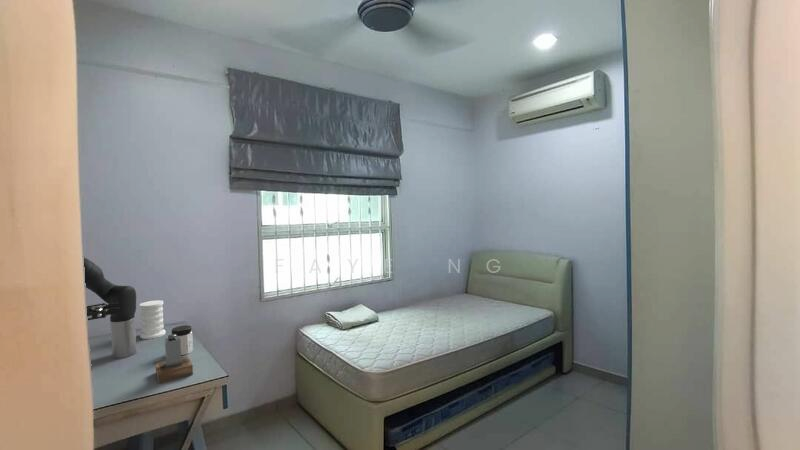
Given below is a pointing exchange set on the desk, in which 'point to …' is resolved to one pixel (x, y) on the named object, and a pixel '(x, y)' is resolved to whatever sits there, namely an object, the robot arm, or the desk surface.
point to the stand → (174, 370)
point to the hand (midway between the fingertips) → (119, 307)
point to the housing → (173, 351)
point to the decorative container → (152, 319)
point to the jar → (184, 338)
